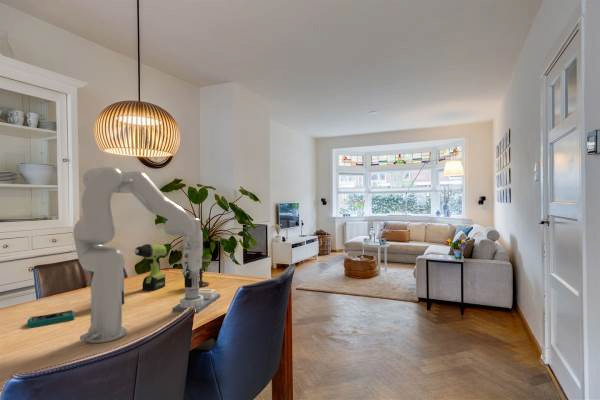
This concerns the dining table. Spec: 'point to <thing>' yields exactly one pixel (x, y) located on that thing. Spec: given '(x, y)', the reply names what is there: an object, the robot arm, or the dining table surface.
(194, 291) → the energy drink can
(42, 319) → the digital multimeter
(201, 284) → the candlestick
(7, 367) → the dining table surface
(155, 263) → the cordless drill
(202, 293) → the socket board
